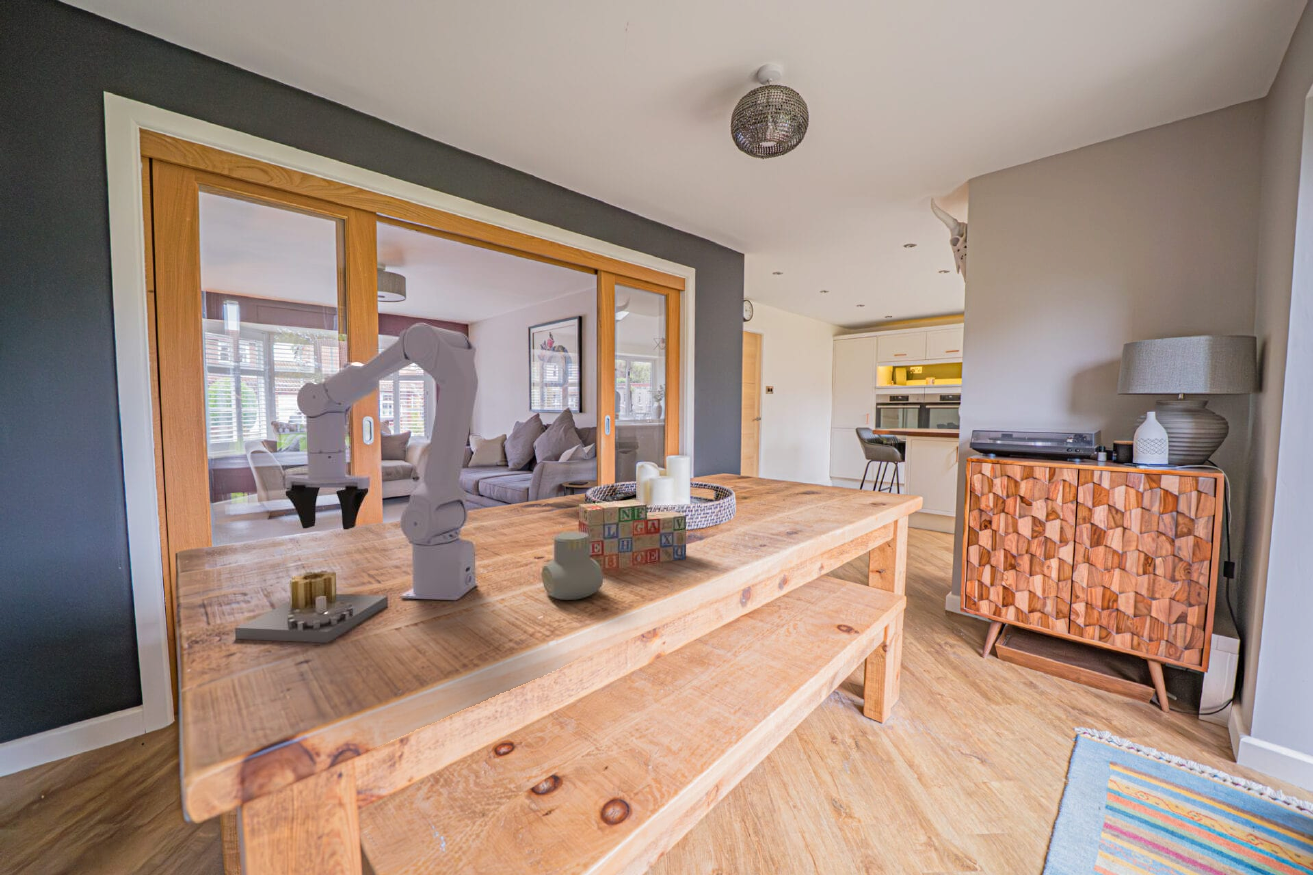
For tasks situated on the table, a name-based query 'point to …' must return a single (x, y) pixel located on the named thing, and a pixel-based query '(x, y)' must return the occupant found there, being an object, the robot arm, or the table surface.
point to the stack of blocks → (632, 534)
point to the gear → (320, 616)
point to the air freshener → (572, 568)
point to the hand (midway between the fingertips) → (328, 527)
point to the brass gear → (312, 588)
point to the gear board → (278, 628)
